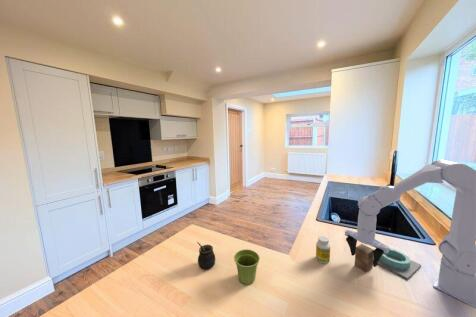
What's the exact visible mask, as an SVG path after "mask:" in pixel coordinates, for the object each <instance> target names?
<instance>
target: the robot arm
mask: <svg viewBox="0 0 476 317" xmlns="http://www.w3.org/2000/svg"><path fill="white" fill-rule="evenodd" d="M444 182H446V183H448V184H449V185H450V186H451V187H452V188H454V189H455V197H454V201H453V202H454V203H453V208H452V213H451V214H452V215H451V220H450V226H449V232H448V234H446V235H444V236H443V239H442V241H440V242H439V244H438V251H439V252H440V254H442V256H441V259H440V264H439V266H440V267H439V273H438V279H437V280H436V281H435V282H434V283H433V285H432V286H433V288H435V289H437V290H440V291H441V292H442V293H443V292H444V293H445V294H447V295H449V296H451V297H453V298H455V299H458V300H459V301H461V302H463V303H466V304H467V305H469V306H470V307H471V306H472V307H473V308H475V309H476V169H474V168H472V166H471V167H470V166H469V165H468V164H465V163H460V162H455V161H450V160H449V159H437V160H434V161H432V162H431V163H428V164H425V165H424V166H423V167H422V168H420V169H419V170H418V171H416V172H414V173H412V174H411V175H409V176H408V177H406V178H405V179H403V180H401V181H399V182H398V183H396V184H395V185H385V186H383V185H382V186H380V187H379V189H378V190H376V191H374V192H373V193H368V194H367V195H366V196H361V197H360V198H359V199H358V201H357V204H358V206H359V210H358V216H357V229H356V231H353V230H350V229H347V230H345V231H344V236H346V238H345V241H346V242H347V245H348V247H349V250H350V254H351V256H354V257H355V252H356V247H357V244H358V243H357V242H359V243H361V244H363V245H366V246H367V245H368V246H370V247H374V249H373V256H374V260H373V267H374V268H376V267H377V266H378V261H379V259H380V258H381V256H382V255H383V254H384V253H386V254H387V253H388V252H389V248H390V246H388V245H387V244H384V243H383V242H381V241H379V240H377V239H376V228H377V215H378V214H379V213H380V211H381V209H383V208H385V207H387V206H389V205H391V204H393V203H395V202H397V201H399V200H400V199H401V197H402V194H406V193H407V192H408V191H412V190H414V189H415V188H418V187H420V186H423V185H425V184H427V183H430V184H431V183H432V184H444Z"/></svg>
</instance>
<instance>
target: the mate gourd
mask: <svg viewBox="0 0 476 317" xmlns="http://www.w3.org/2000/svg"><path fill="white" fill-rule="evenodd" d="M197 244H198V246H200V247H199V248H198V253H199V254H198V257H197V264H198V267H199V268H200V269H201V270H203V271H209V270H211V269H212V268H214V266H215V264H216V255H215V252H214V246H213V245H211V244H204V245H201V243H199V241H197Z"/></svg>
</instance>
